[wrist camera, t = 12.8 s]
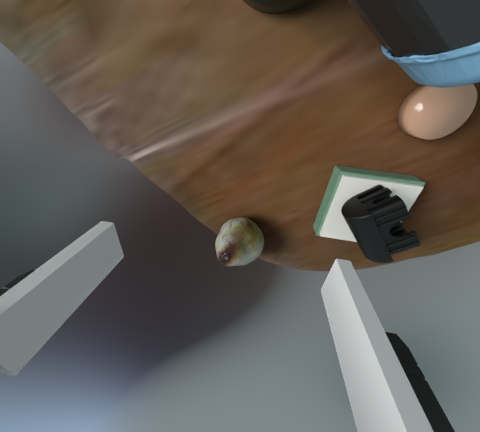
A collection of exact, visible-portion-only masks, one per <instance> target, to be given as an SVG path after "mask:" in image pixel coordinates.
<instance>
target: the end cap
mask: <svg viewBox="0 0 480 432" xmlns="http://www.w3.org/2000/svg"><path fill="white" fill-rule="evenodd" d="M391 193H392V191H391V190H390V189H388V188H387V187H386V188H384V186H382V185H380V184H379V185H376V186H374V187H372V188H370V189H368V190H366V191H363V192H361V193H359V194H357V195H355V196H353V197H351V198H350V199H348V200H347V201H346V202H345V203H344V204H343V206H342V209H341V213H342V215H343V217H344V219H345V221H346V222H347V224H348V226H349V228H350V230H351V232H352V234H353V235H354V237H355V239H356V241H357V243H358V245H359V246H360V248H361V250H362V252H363V254H364V255H365V257H366V258H368V259H369V260H371V261H374V262H378V263H389V262H393V259H392V257H391V255H393V254H396V253H399V252H402V251H405V250H408V249H411V248H414V247H417V246H420V242H419V240H418V237H417V234H416V232H415V231H412V232H409V233H408V232H407V231H406V230H405V229H404V228H403V227H402V224H401V222H400V221H403V220H406V219H408V218H410V216H409V213H408V210H407V208H406V205H405V203H404V201H403V200H402V199H401V198H400V197H399V196H397V195H395V196H392V197H390V194H391Z"/></svg>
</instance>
